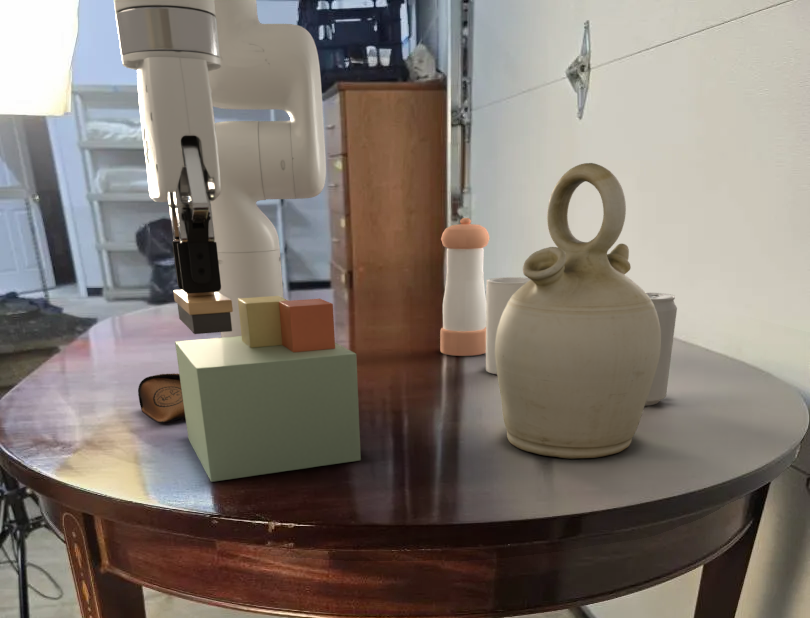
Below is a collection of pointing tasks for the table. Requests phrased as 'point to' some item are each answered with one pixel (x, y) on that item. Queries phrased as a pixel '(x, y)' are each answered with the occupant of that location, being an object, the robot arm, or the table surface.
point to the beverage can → (663, 344)
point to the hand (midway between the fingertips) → (199, 288)
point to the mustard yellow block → (260, 321)
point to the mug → (497, 311)
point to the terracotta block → (307, 325)
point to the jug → (577, 336)
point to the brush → (204, 311)
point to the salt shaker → (464, 290)
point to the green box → (268, 406)
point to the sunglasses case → (162, 397)
